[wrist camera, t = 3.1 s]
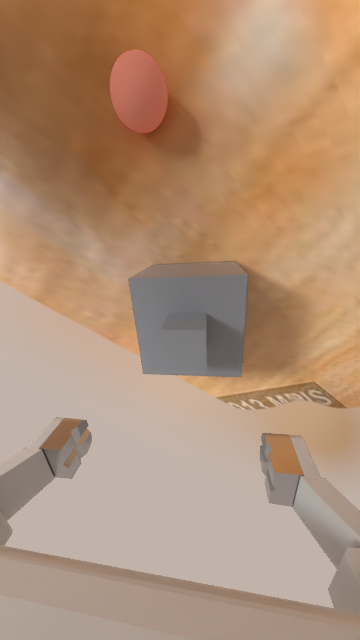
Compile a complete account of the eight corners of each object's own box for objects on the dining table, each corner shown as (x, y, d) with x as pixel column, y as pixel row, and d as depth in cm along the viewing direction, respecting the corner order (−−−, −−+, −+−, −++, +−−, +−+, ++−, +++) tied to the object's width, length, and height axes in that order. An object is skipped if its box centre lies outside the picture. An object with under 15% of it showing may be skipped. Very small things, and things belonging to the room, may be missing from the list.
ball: (127, 145, 22) (105, 122, 17) (119, 80, 20) (92, 36, 16) (174, 138, 21) (164, 113, 17) (170, 71, 19) (157, 22, 15)
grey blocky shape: (160, 336, 30) (131, 397, 19) (153, 264, 27) (111, 288, 15) (232, 336, 29) (247, 403, 18) (235, 261, 25) (256, 284, 14)
